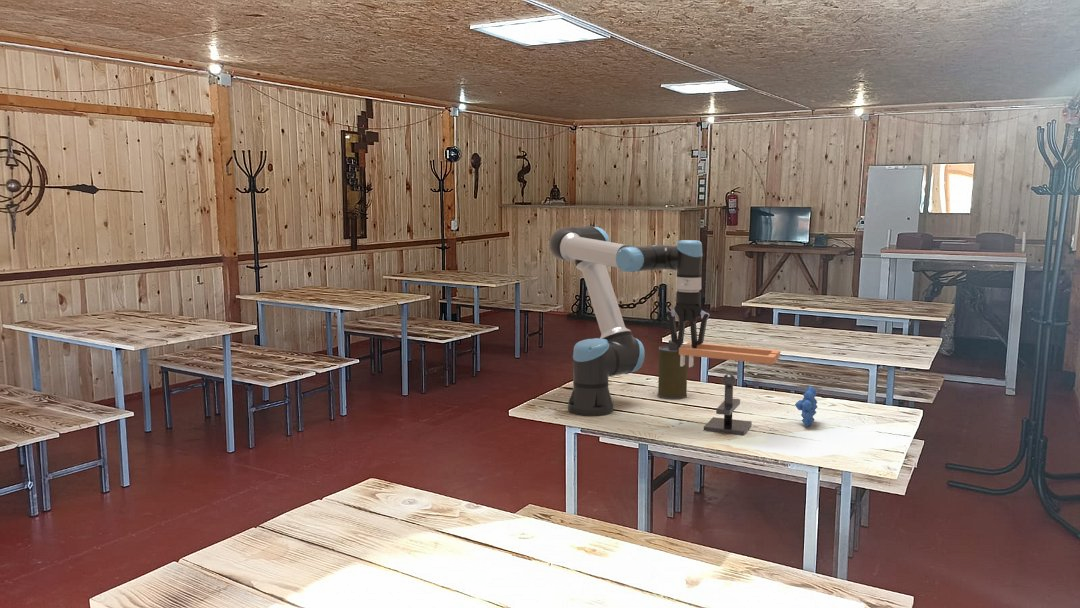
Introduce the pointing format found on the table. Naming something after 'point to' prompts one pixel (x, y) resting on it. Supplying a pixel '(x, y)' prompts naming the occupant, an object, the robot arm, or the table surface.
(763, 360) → the link
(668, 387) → the canister
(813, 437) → the table surface
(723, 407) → the stand
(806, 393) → the grapes
